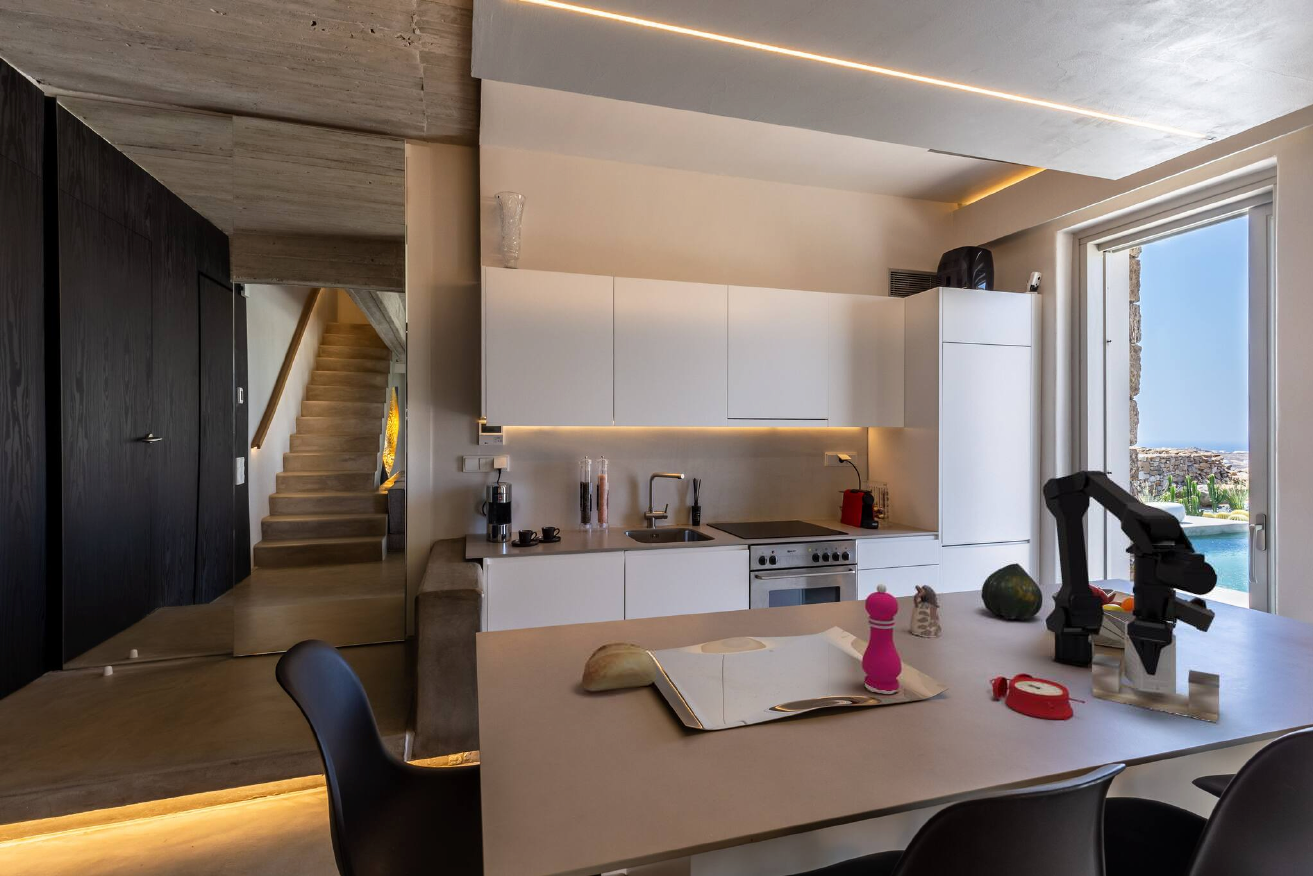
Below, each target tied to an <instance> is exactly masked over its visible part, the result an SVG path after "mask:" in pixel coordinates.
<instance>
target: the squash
mask: <svg viewBox="0 0 1313 876" xmlns="http://www.w3.org/2000/svg"><path fill="white" fill-rule="evenodd" d="M1042 593H1043V592H1042V591H1041V587H1039V585H1038V584H1037V582H1036V581H1035V580H1034V579H1033V577H1032V576H1030V574H1029V573H1027V571H1026V570H1025V569H1024V568H1023V567H1022V566H1021V565H1020V564H1019V563H1011V564H1008V565H1006V566H1003V567H1001V568H998V569H997V570H995V571H994V572H992V573H991V574H990V575H989V576H987V578H986V579H985V581H983V585H982V587H981V600H982V601H983V604H984V607H985V609H987V611H988V612H991V613H992V614H994V613H997V614H996V615H998V614H1002V616H1003V618H1005V619H1007V620H1008V619H1013V620H1014V619H1016V620H1019V619H1020V621H1022V620H1026V619H1028V618H1031V617H1034V616H1036V615H1037V614H1038V613H1039V612H1040V611H1041V609H1042V606H1043V594H1042Z"/></svg>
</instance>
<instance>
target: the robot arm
mask: <svg viewBox="0 0 1313 876" xmlns="http://www.w3.org/2000/svg"><path fill="white" fill-rule="evenodd" d="M1042 495H1043V496H1044V497H1043V498H1044V502H1045V506H1046V508H1047V510H1048V511H1049V513H1050V514H1052V516H1053V517H1054V518H1055V523H1056V524H1055V525H1056V533H1057V534H1056V536H1057V544H1058V554H1059V555H1058V556H1059V564H1060V565H1059V566H1060V574H1061V575H1060V576H1061V587H1060V589H1059V590H1058V593H1056V596H1055V598H1054V609H1053V610H1052V611H1051V612H1050V614H1049V615H1048V616H1047V617H1046V618H1045V623H1046V624H1045V625H1046V628H1047V629H1046V630H1048V631H1050V632H1052V633H1054V656H1053V658H1052V661H1053V662H1057V663H1063V664H1068V665H1074V666H1079V667H1084V668H1089V667H1090V665H1092V660H1093V658H1094V657H1095V642H1094V640H1092V637H1091V636H1099V635H1100V633H1101V629H1102V625H1103V623H1104V617H1105V615H1106V614H1105V611H1104V608H1103V601H1104V600H1103V598H1102V595H1100V594H1096V593H1095V591H1094V590H1093V589H1092V588H1091V586H1090V578H1089V568H1088V559H1087V549H1086V542H1085V541H1086V540H1085V532H1084V531H1085V530H1084V522H1083V519H1084V516H1085V514H1086V513H1087V511H1088V509H1089V508H1090V506H1091V505H1090V504H1091V499H1090V498H1092V499H1093V500H1095V501H1096V502H1097V503H1098V504H1099V505H1101V506H1102V507H1103V508H1104V509H1106V510H1107V511H1108V512H1109V513H1110V514H1112V515H1113V516H1114V517H1115V518H1117V519H1118V521H1120V529H1121V531H1122V532H1123V533H1124V534H1125V536H1127V538H1128V539H1129V540H1130V541H1131V542H1132V543H1133V544H1131V545H1130V546H1127V547H1126V549H1125V550H1124V551H1125V553H1127V554H1130V555H1131V554H1132V555H1133V586H1132V594H1133V607H1132V616H1133V617H1132V618H1131V619H1130V620H1129V621H1127V622H1128V624H1127V635H1129V639H1130V640H1131V641H1132V643H1133V645H1134V647H1135V649H1136V651H1137V653H1138V656H1139V657H1140V660H1141V662H1142V664H1143V666H1144V668H1145V670H1146V672H1147V674H1148V675H1155V673H1156V669H1157V665H1158V661H1159V657H1160V653H1161V649H1162V648H1164V647H1166V646H1168V645H1170V644H1172V641H1173V634H1174V629H1176V626H1177V623H1178V621H1180V622H1182V623H1184V624H1186V625H1189V626H1192V627H1194V628H1195V629H1196V630H1198V631H1201V632H1203V633H1208V630H1209V628H1210V627H1211V624H1212V623H1213V621H1214V619H1215V617H1216V613H1215V612H1214V611H1213V609H1208V607H1207V601H1206V600H1205V599H1203V598H1200V597H1197V596H1205V595H1207V594H1209V593H1211V592H1212V591H1213V590H1214V589H1215V587H1216V585H1217V581H1218V574H1217V573H1216V570H1215V569H1214V567H1213V566H1212V564H1210V563H1209V562H1207V561H1206V556H1205V555H1206V554H1204V553H1200V552H1196V550H1195V548H1194V547H1193V543H1192V542H1191V540H1190V539H1189V537H1188V536H1187V534H1186V533H1185V530H1184V529H1183V527H1182V526H1181V523H1180V521H1179V519H1178V518H1177V517H1176V516H1175V515H1174V514H1172V513H1170V512H1168V511H1166V510H1163V509H1161V508H1159V507H1156V506H1152V505H1148V504H1145V503H1143V502H1141V501H1140V500H1138V499H1137V498H1136V497H1135V496H1133V495H1132V494H1131V493H1129V492H1128V491H1127V490H1125V489H1124V488H1123V487H1121V486H1120V485H1119V484H1117V483H1116V482H1114V481H1113V480H1112V479H1111V478H1109V477H1108V475H1107V473H1106V472H1104V471H1101V470H1080V471H1077V472H1075V473H1073V474H1068V475H1065V476H1061V477H1054V478H1053V477H1052V478H1049V479H1048V480H1047V482H1046V483H1044V485H1043V487H1042ZM1177 590H1178V591H1181V592H1185V593H1186V592H1187V593H1189V594H1193V595H1197V596H1195V597H1194V598H1192V599H1190V600H1189V601H1188V599H1186V598H1185V599H1183V598H1180V597H1178V596H1177Z"/></svg>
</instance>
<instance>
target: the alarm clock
mask: <svg viewBox="0 0 1313 876" xmlns="http://www.w3.org/2000/svg"><path fill="white" fill-rule="evenodd" d="M1008 681H1009V682H1008ZM989 683H990V684H991V687H992V694H993V696H994V698H995V699H996V700H998V701H1001V699H1000V698H1005V697H1006V698H1005V700H1004V702H1005V704H1006V705H1007V707H1009V708H1010V709H1012V710H1013V711H1015V712H1018V713H1021V714H1023V715H1026V716H1030V717H1034V718H1039V719H1047V720H1064V722H1065V721H1070V718H1071V717H1072V716H1073V715H1074V710H1073V707H1072V706H1071V704H1070V701H1072V702H1073V701H1074V702H1079V703H1082V704H1085V703H1086V701H1085V700H1079V699H1076V698H1071V697H1070V692H1069V690H1068V688H1067V687H1065V686H1064V685H1062V684H1060V683H1059V682H1058V683H1057V682H1054V681H1051V680H1048V679H1043V678H1040V677H1039V678H1038V677H1033V676H1032V675H1030V674H1028V673H1025V672H1024V673H1018V674H1016V675H1015V676H1014V677H1012V679H1011V678H1006V677H1005V676H998V677H996V678H992V679H990V680H989Z"/></svg>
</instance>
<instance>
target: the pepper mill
mask: <svg viewBox="0 0 1313 876" xmlns="http://www.w3.org/2000/svg"><path fill="white" fill-rule="evenodd" d="M864 603H865V604H864V608H865V611H866V613H868V617H867V620H868V621H867V625H868V626H869V628H870V629H869V630H870V633H869V635H870V637H869V640H868V644H867V646H866V649H865V651H864V653H863V655H862V659H861V669H862V670H863V672H864V674H866V675H865V676H864V681H863V682H865V683H866V684H867V685H869V686H871V687H873V688H876V689H878V690H886V691H892V690H897V689H898V688H899V689H900V681H899V679H897V678H898V677H899V676H900V674H902V668H903V667H902V661H901V658H900V655H899V652H898V651H897V648H896V646H895V641H894V628H896V618H894V617H895V616H896V615H897V614H898V611H899V604H898V601H897V599H896V597H895V596H894V595H892V594H890V593H889V592H887V586H886V585H885V584H883V583H880V584H878V585H877V586H876V592H873V593H872V592H871V593H870V594H869V595H868V596H867V597H866V599H865V602H864Z"/></svg>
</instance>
